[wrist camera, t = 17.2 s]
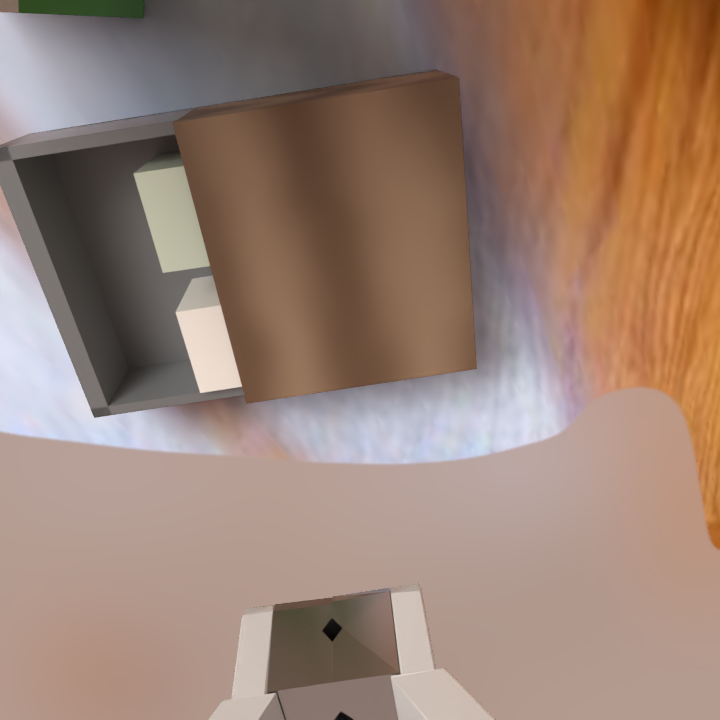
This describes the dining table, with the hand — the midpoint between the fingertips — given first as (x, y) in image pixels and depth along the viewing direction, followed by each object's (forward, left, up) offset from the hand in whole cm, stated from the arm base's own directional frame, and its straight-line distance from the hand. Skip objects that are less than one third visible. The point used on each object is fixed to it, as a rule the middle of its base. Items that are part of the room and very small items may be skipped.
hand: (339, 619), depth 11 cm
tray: (+10, +2, -29) cm, 31 cm away
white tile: (+6, +6, -26) cm, 27 cm away
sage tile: (+6, -1, -26) cm, 27 cm away
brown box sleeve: (-1, +2, -29) cm, 29 cm away
